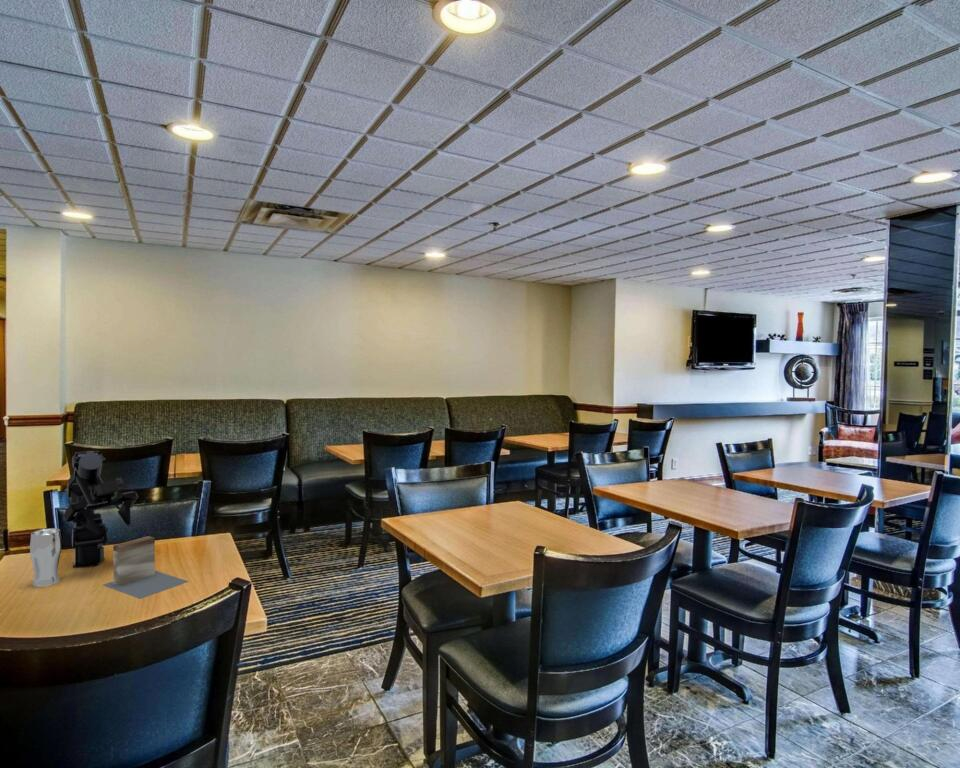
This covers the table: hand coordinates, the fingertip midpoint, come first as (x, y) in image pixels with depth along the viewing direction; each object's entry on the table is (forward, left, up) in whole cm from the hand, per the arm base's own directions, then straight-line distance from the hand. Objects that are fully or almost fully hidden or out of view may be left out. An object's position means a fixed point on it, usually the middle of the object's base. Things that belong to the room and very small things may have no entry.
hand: (114, 528), depth 170 cm
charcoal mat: (+12, -10, -13) cm, 21 cm away
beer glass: (-15, -6, -14) cm, 21 cm away
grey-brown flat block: (+8, -7, -13) cm, 17 cm away
